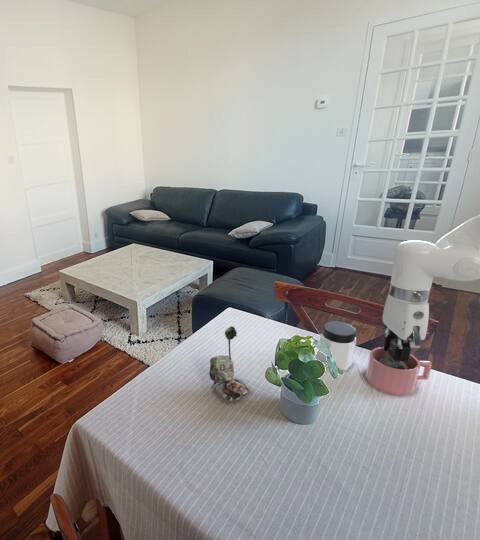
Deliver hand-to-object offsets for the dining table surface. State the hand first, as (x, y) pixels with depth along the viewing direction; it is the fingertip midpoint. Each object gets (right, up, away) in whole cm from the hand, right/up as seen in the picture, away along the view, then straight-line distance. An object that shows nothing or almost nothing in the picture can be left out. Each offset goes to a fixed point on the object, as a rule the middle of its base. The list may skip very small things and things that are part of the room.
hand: (395, 354), depth 88 cm
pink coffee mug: (+3, -9, +3) cm, 9 cm away
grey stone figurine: (+1, -6, +2) cm, 7 cm away
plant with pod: (-42, -13, +7) cm, 44 cm away
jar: (-8, -6, +13) cm, 17 cm away
